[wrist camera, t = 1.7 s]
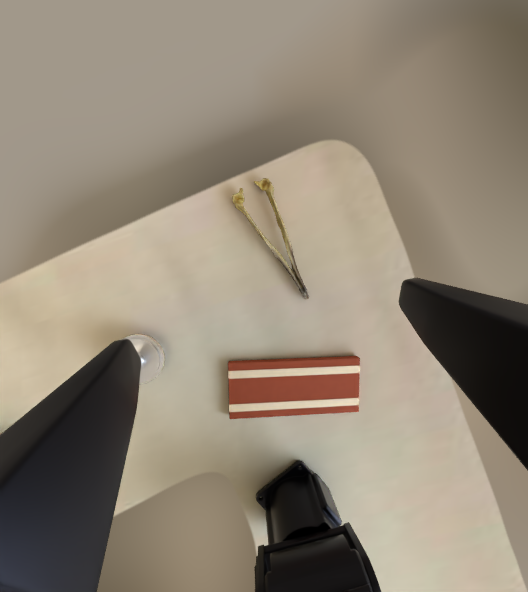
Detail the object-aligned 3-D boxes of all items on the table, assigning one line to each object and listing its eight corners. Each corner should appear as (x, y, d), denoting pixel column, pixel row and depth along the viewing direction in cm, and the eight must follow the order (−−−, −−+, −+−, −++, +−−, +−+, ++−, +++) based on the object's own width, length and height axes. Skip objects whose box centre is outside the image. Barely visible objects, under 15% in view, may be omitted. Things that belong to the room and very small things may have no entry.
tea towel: (356, 355, 28) (360, 358, 27) (355, 407, 29) (359, 412, 28) (228, 360, 27) (228, 363, 26) (230, 414, 28) (229, 419, 27)
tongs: (297, 305, 27) (301, 306, 25) (229, 199, 26) (227, 193, 24) (329, 283, 27) (336, 283, 25) (263, 177, 26) (264, 169, 24)
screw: (143, 385, 27) (111, 350, 26) (179, 355, 27) (148, 320, 26) (49, 490, 14) (-20, 426, 13) (119, 432, 14) (54, 365, 13)
